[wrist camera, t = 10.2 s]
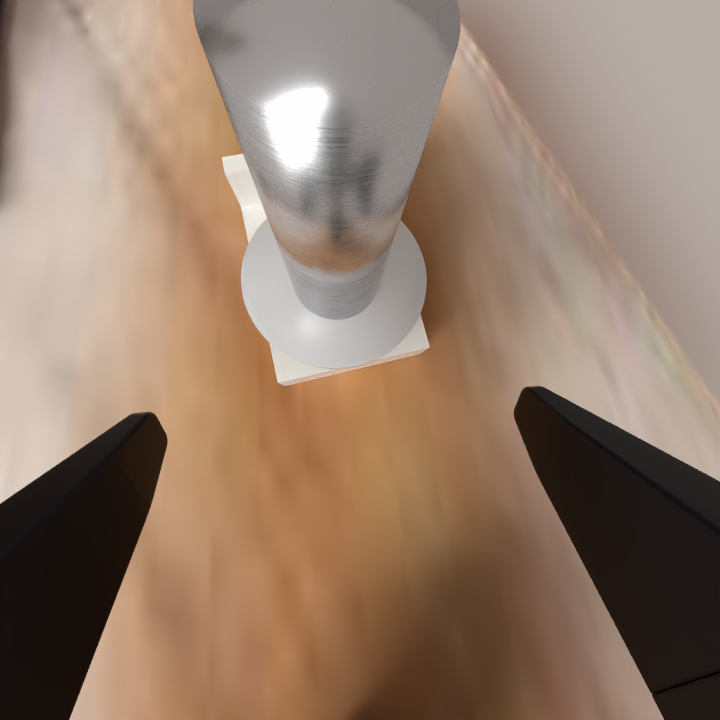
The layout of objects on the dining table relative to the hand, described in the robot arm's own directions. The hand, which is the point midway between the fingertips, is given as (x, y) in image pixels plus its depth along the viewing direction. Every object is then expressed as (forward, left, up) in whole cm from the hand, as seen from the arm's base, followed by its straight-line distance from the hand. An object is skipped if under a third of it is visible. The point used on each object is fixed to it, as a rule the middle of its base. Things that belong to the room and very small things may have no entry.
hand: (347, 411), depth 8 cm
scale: (+8, -1, -12) cm, 15 cm away
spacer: (+7, -1, -9) cm, 11 cm away
